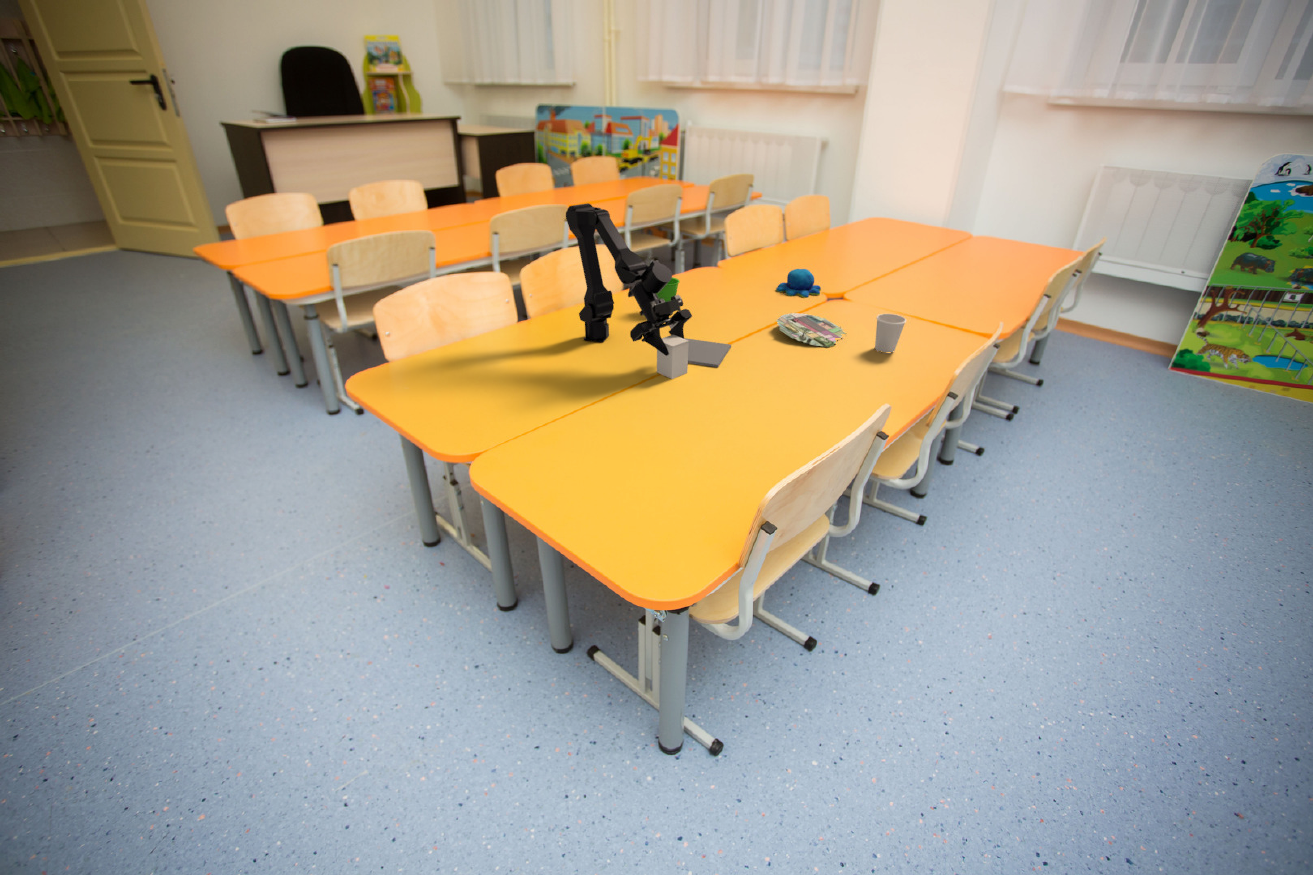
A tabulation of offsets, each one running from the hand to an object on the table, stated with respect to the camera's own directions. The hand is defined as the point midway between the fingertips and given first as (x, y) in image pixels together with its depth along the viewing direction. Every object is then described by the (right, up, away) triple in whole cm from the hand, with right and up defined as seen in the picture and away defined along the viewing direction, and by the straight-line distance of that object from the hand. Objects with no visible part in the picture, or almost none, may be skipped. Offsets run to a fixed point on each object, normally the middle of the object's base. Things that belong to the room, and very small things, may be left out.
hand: (676, 351), depth 164 cm
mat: (+7, +2, +16) cm, 18 cm away
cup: (-2, +21, +48) cm, 52 cm away
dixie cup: (+64, +3, +20) cm, 67 cm away
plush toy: (+50, +33, +71) cm, 93 cm away
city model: (+44, +9, +31) cm, 55 cm away
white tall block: (-1, -5, +4) cm, 7 cm away
